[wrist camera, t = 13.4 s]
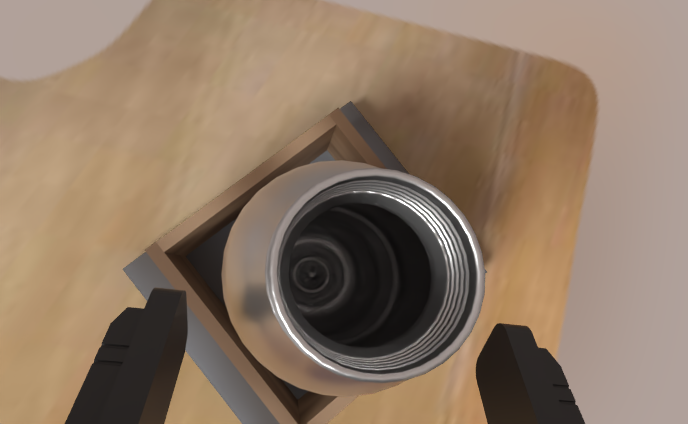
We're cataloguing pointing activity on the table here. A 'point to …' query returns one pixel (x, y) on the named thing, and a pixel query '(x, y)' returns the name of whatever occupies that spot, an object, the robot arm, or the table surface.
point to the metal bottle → (351, 277)
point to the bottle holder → (206, 281)
